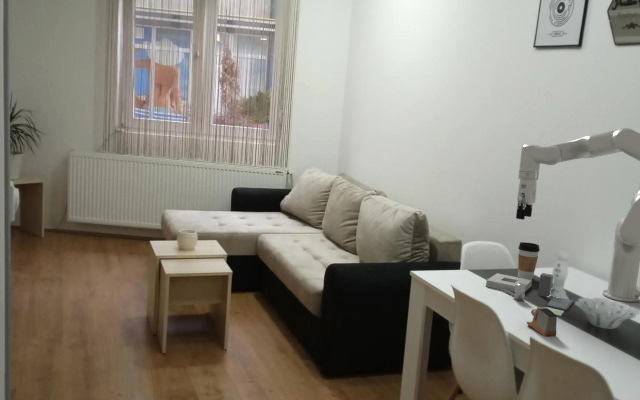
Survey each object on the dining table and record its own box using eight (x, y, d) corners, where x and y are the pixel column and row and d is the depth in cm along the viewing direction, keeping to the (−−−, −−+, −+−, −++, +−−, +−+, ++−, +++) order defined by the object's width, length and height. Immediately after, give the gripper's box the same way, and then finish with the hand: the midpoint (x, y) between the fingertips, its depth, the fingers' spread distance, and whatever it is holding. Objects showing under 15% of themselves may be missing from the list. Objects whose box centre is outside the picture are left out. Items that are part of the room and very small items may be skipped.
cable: (516, 297, 219) (516, 295, 219) (514, 297, 219) (514, 295, 219) (503, 290, 226) (503, 288, 226) (501, 291, 226) (501, 288, 226)
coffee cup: (510, 276, 249) (514, 241, 247) (525, 275, 253) (529, 240, 251) (525, 281, 242) (529, 246, 239) (540, 280, 245) (544, 245, 243)
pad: (564, 311, 205) (564, 310, 205) (560, 316, 200) (560, 315, 200) (546, 307, 209) (546, 306, 209) (542, 311, 204) (542, 311, 204)
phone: (573, 303, 218) (573, 300, 218) (565, 313, 206) (566, 309, 206) (553, 299, 221) (553, 295, 221) (544, 308, 210) (545, 304, 210)
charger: (551, 295, 225) (553, 274, 224) (548, 297, 221) (551, 276, 220) (540, 293, 227) (542, 272, 226) (537, 295, 223) (540, 274, 222)
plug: (525, 300, 216) (526, 284, 215) (522, 302, 213) (524, 286, 212) (515, 298, 218) (516, 282, 217) (512, 300, 215) (514, 284, 214)
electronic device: (537, 325, 190) (540, 302, 189) (557, 336, 181) (560, 313, 180) (525, 325, 189) (528, 303, 188) (544, 337, 180) (547, 313, 178)
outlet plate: (531, 286, 235) (532, 280, 235) (522, 294, 224) (523, 287, 223) (496, 279, 243) (497, 273, 242) (485, 286, 231) (486, 280, 231)
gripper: (532, 177, 227) (527, 221, 229) (543, 175, 241) (538, 216, 244) (512, 175, 231) (507, 218, 234) (525, 173, 245) (520, 214, 248)
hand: (523, 217), depth 239 cm, fingers open, 9 cm apart
